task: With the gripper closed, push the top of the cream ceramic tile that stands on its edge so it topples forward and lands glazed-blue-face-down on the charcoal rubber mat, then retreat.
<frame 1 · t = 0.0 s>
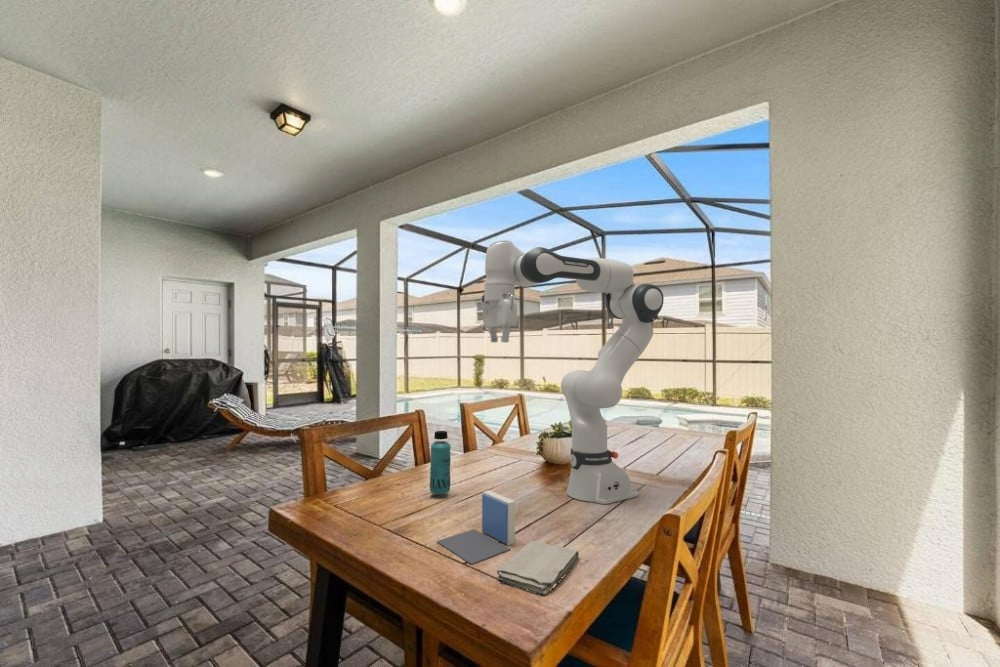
hand: (499, 342, 131), 48 cm above the table, tool pointing down, fingers open, 8 cm apart
washcloth: (538, 572, 94), on the table
beverage bottle: (440, 496, 139), on the table
tile: (497, 537, 109), on the table
mat: (472, 546, 104), on the table
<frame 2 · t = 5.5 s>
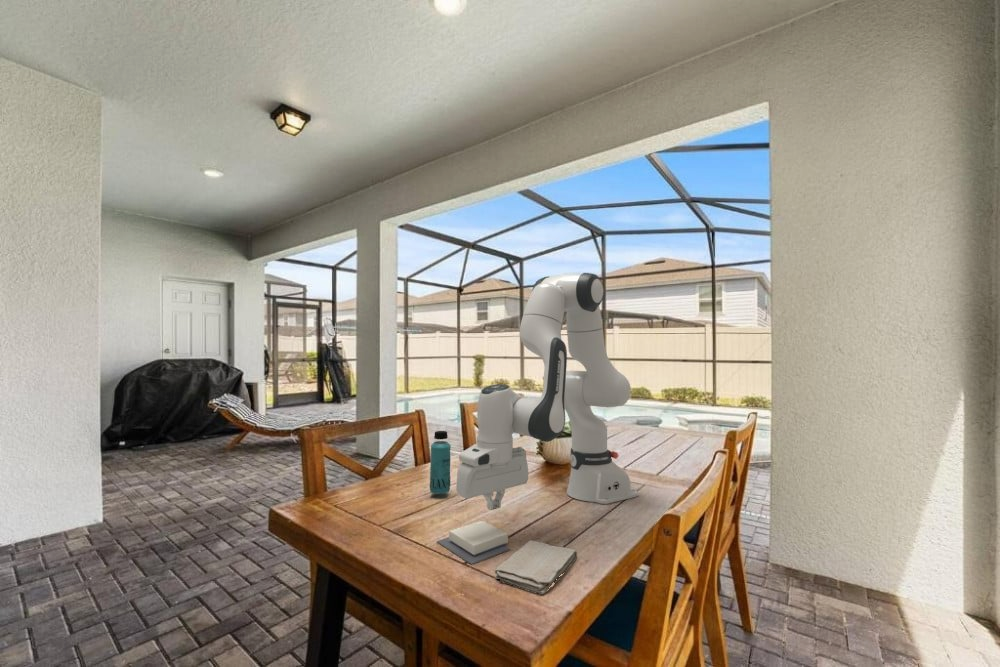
hand: (494, 508, 108), 7 cm above the table, tool pointing down, fingers closed
tile: (494, 531, 109), point 2 cm above the table, tilted 90°, touching mat
everything else where it was.
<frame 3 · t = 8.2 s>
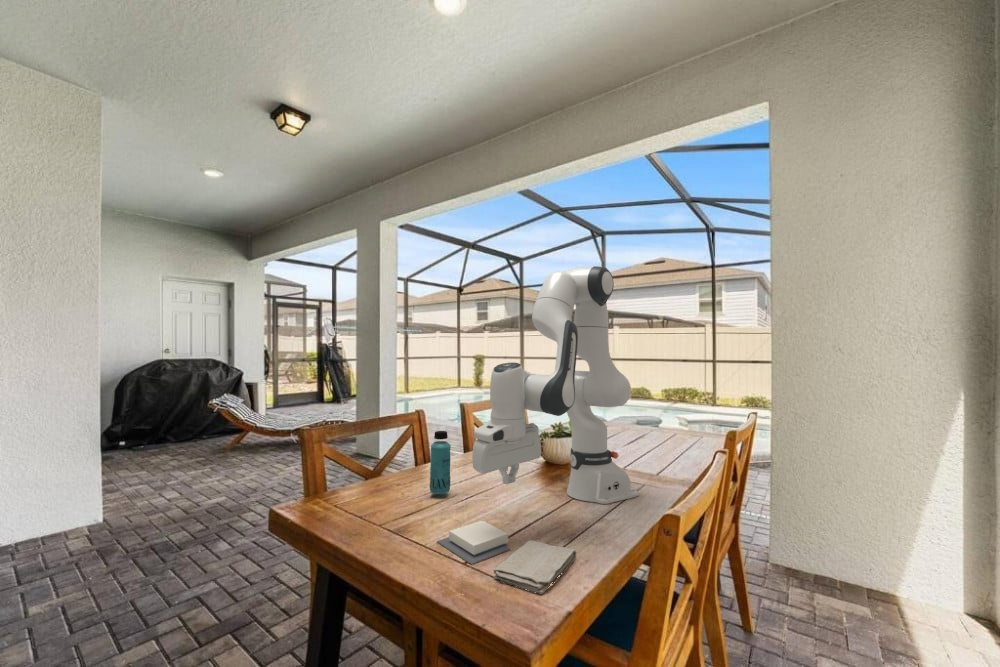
hand: (509, 482, 112), 13 cm above the table, tool pointing down, fingers closed
nothing on the table moved.
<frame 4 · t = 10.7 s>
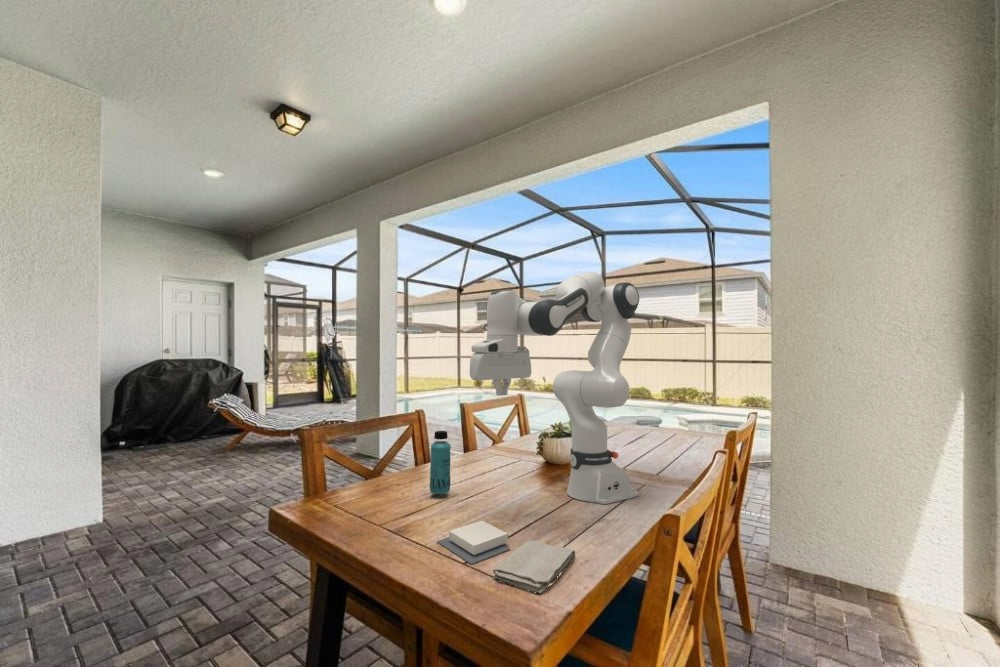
hand: (501, 395, 125), 33 cm above the table, tool pointing down, fingers closed
nothing on the table moved.
at the end: tile tilted 90°; tile inside the target area (3.4 cm from its centre), point 1.5 cm above the table; tile touching mat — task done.
